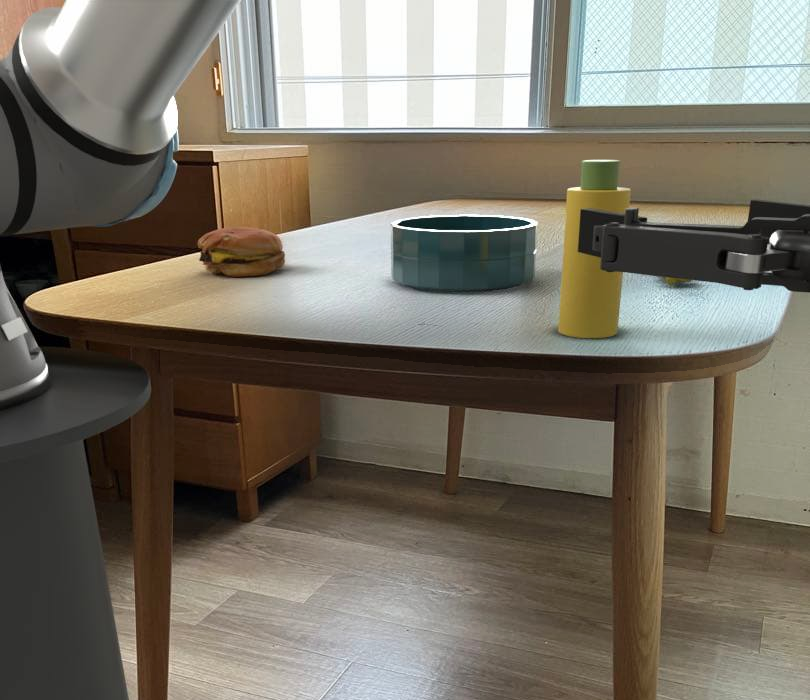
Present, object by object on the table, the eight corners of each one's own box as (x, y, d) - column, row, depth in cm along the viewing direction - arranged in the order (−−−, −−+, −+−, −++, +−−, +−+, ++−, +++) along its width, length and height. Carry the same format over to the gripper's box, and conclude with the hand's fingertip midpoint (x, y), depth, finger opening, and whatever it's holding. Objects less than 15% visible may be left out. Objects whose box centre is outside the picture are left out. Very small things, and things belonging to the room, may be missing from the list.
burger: (283, 263, 108) (280, 222, 106) (287, 275, 100) (284, 232, 98) (201, 266, 107) (196, 225, 105) (198, 279, 98) (193, 235, 96)
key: (694, 274, 90) (643, 272, 91) (693, 287, 90) (642, 285, 91) (694, 259, 100) (648, 258, 101) (693, 271, 100) (647, 269, 102)
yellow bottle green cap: (549, 334, 72) (559, 161, 66) (570, 323, 76) (581, 158, 70) (606, 341, 70) (622, 162, 64) (624, 329, 74) (641, 159, 68)
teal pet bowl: (365, 287, 93) (363, 226, 90) (433, 266, 105) (434, 213, 102) (497, 299, 86) (500, 234, 83) (555, 276, 98) (558, 218, 95)
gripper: (707, 371, 41) (504, 294, 59) (1090, 324, 48) (806, 269, 66) (731, 196, 37) (508, 172, 55) (1137, 176, 45) (825, 160, 63)
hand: (670, 225), depth 61 cm, fingers open, 13 cm apart
